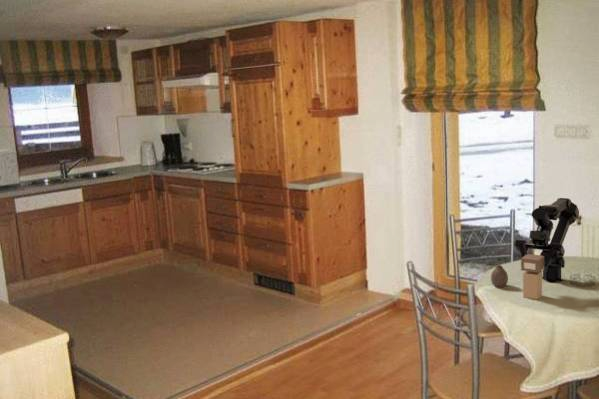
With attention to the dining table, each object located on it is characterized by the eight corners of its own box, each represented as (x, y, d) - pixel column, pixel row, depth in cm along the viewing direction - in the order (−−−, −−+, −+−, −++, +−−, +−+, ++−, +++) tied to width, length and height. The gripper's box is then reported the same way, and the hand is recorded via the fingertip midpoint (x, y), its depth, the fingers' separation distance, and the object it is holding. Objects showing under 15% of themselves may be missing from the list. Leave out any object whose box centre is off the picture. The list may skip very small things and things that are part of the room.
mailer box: (528, 293, 260) (528, 269, 258) (542, 295, 256) (542, 271, 254) (523, 297, 255) (523, 272, 253) (537, 299, 252) (537, 274, 250)
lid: (527, 265, 258) (527, 253, 257) (544, 268, 254) (544, 255, 253) (521, 270, 253) (521, 258, 252) (538, 272, 249) (538, 260, 248)
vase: (508, 288, 266) (508, 268, 265) (491, 288, 268) (491, 268, 266) (507, 283, 273) (506, 263, 271) (490, 283, 274) (490, 263, 273)
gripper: (515, 220, 261) (505, 252, 255) (562, 224, 249) (553, 258, 243) (522, 234, 269) (513, 266, 262) (568, 238, 257) (559, 272, 251)
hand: (534, 265), depth 254 cm, fingers open, 9 cm apart
